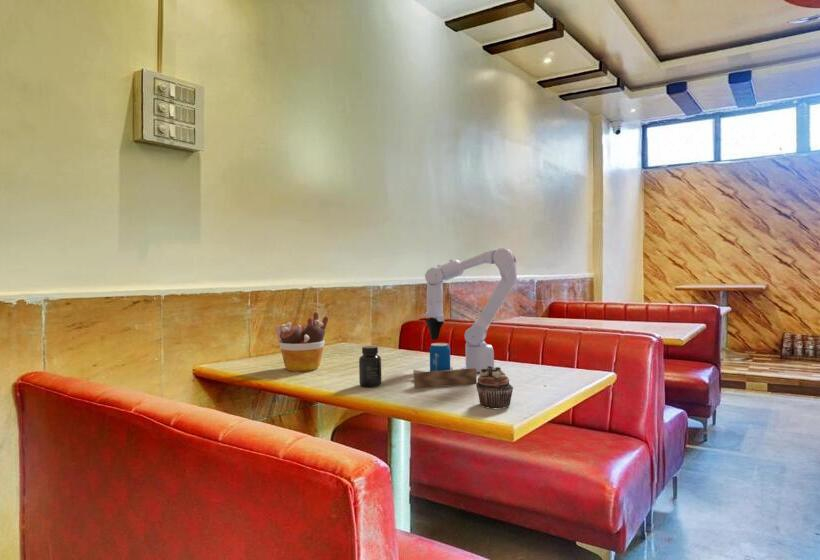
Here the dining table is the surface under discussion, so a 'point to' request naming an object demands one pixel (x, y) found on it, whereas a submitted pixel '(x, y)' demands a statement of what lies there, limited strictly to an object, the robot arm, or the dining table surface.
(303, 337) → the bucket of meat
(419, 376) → the caddy
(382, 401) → the dining table surface
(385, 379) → the dining table surface
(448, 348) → the beverage can
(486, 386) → the cupcake
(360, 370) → the supplement bottle
